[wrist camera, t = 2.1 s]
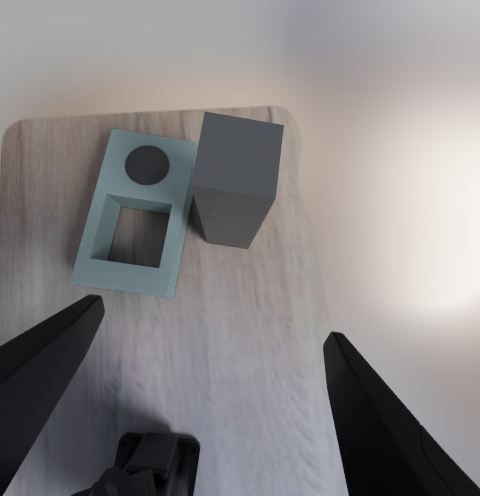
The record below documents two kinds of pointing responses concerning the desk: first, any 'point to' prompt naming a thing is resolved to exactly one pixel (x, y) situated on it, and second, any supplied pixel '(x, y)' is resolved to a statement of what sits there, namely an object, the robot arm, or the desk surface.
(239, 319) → the desk surface
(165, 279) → the socket block
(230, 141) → the square bit
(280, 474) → the desk surface
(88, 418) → the desk surface
